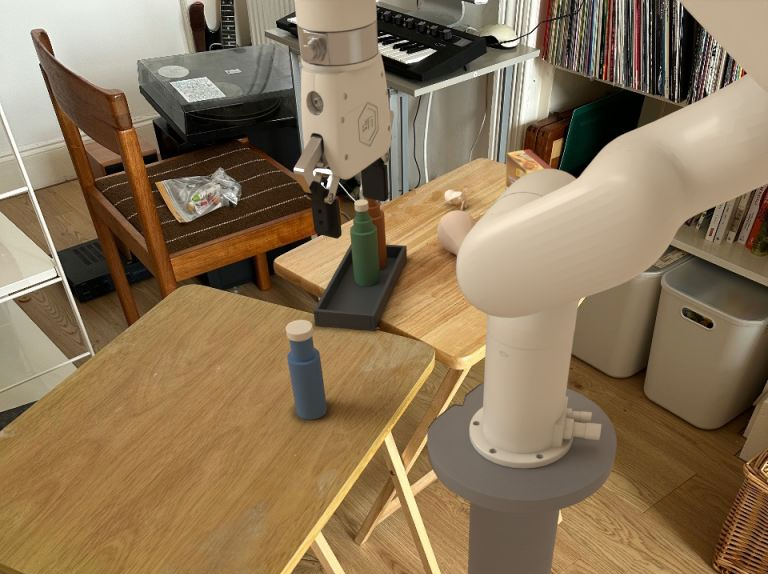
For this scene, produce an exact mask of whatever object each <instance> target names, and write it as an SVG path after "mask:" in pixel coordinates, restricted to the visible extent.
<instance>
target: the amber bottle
mask: <svg viewBox="0 0 768 574" xmlns="http://www.w3.org/2000/svg"><path fill="white" fill-rule="evenodd" d="M363 200H367V201H368V215H369V216H371V217H372V224H374V225H375V226H376V228H377V242H378V257H379V270H382V269H384V268H385V267H386V266H387V253H386V244H387V239H386V236H387V235H386V220H385V212H384V211H383V210H382V209H381V204H380V201H377V200H374V199H369V198H365V197H363Z"/></svg>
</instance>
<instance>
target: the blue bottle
mask: <svg viewBox="0 0 768 574" xmlns="http://www.w3.org/2000/svg"><path fill="white" fill-rule="evenodd" d="M285 334H286V338H287V339H288V340H289V341H288V342H289V346H290V348H289V349H290V351H289V352H288V353H287V354H286V355H287V356H286V359H287V366H288V371H289V377H290V383H291V388H292V389H291V390H292V393H293V401H294V406H295V411H296V412H295V413H296V415H297V416H298V417H299V418H301V419H303V420H307V421H313V420H318V419H320V418H322V417H323V416H325V415H326V413H327V412H328V405H327V397H326V391H325V383H324V375H323V369H322V360H321V353H320V351H319V350H318V349H317V348H316V347H315V345H314V338H313V336H314V325H313V324H312V322H311V321H309V320H306V319H295V320H293V321H291V322H289V323H287V324H286V326H285Z"/></svg>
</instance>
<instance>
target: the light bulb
mask: <svg viewBox="0 0 768 574" xmlns="http://www.w3.org/2000/svg"><path fill="white" fill-rule="evenodd" d="M476 223H477V222H476V221H475V218H473V216H472V215H471V214H470V213H468V212H467V211H464V210H460V209H457V210H451V211H449V212H447V213H446V214H444V215H443V216H442V217H441V218H440V220H439V222H438V225H437V228H436V237H437V240H438V242H439V244H440V245H441V247H442V248H443V249H445V250H446V251H447V252H449V253H452V254H454V255H455V256H456V257H457V256H458V252H459V249H460V247H461V244H462V242H463V240H464V239H465V237H466V236H467V234H468V233H469V231H470V230H471V229H472V228H473V227H474V225H475V224H476Z"/></svg>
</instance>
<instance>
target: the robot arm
mask: <svg viewBox="0 0 768 574" xmlns="http://www.w3.org/2000/svg"><path fill="white" fill-rule="evenodd" d="M293 1H294V8H295V9H294V10H295V11H294V12H295V19H296V28H297V36H298V45H299V54H300V64H301V66H302V67H301V74H300V75H301V76H300V109H301V110H300V112H301V127H302V129H301V130H302V137H303V138H302V139H303V148H304V149H303V151H302V153H301V155H300V157H299V158H298V160H297V162H296V164H295V165H294V167H293V175H294V178H295V179H296V180H297V182H298V185H299V188H300V191H301V192H302V193H303V194H304V195H306V196H305V197H306V199H307V200H310V205H311V215H312V223H313V230H314V233H315V234H316V235H320V236H324V237H328V238H332V239H335V240H338V239H340V238H341V237H342V234H343V232H342V221H341V211H340V210H341V209H340V202H339V200H337V199H335V197H336V194H337V190H338V187H339V183H340V179H341V180H346V181H347V180H350V179H352V178H353V177H355V176H357V174H359V173H360V179H361V192H362V197H363V198H364V197H365V198H369V199H374V200H376V201H377V202H384V203H385V202H387V201H388V200H389V199H390V195H389V194H390V193H389V175H388V173H389V172H388V163H389V161H390V157H391V155H390V152H389V149H390V148H391V147H392V140H393V136H392V129H393V123H394V118H395V113H394V111H393V110H391V109H390V102H389V100H390V99H389V91H388V84H387V83H388V82H387V77H386V71H385V66H384V61H383V57H382V53H381V50H380V49H379V39H378V38H379V37H378V16H377V0H293ZM678 1H679V3H680V4H681V5H682V6H683V7H684V8H685V10H686V11H687V12H688V13H689V14H690V15H691V16H692V17H693V18H694V19H695V21H697V22H698V23H699V24H700V26H701V27H703V29H704V30H705V31H706V32H707V33H708V34H709V35H710V36H711V38H713V39H714V40H715V41H716V43H717V44H718V45H720V47H721V48H722V49H723V50H724V51H725V52H726V53H727V54H728V55H729V56H730V57H731V58H732V60H734V61H735V62H736V64H738V65H739V67H741V69H743V71H744V72H746V74H744V75H743V76H741V77H739V78H737V79H736V80H735V81H733V82H731V83H729V84H727V85H725V86H724V87H722V88H720V89H718V90H716V91H714V92H712V93H711V94H708V95H707V96H705V97H703V98H701V99H700V100H697V101H695V102H693V103H691V104H689V105H686V106H684V107H682V108H680V109H677V110H676V111H673V112H671V113H669V114H667V115H665V116H662V117H661V118H658V119H656V120H654V121H652V122H650V123H647V124H644V125H643V126H640V127H638V128H635V129H633V130H630V131H628V132H626V133H624V134H621V135H619V136H617V137H616V138H614V139H613V140H612V141H610V142H608V143H607V144H606V145H605V146H604V147H603V148H602V149H601V150H600V151H599V152H598V153H597V155H596V156H594V158H593V159H592V160H591V162H590V163H589V164H588V165H587V167H586V168H585V169H584V170H583V171H582V172H581V174H580V175H579V177H577V178H576V176H574V175H572V174H571V173H569V172H567V171H564V170H561V169H556V168H553V169H540V170H536V171H533V172H530V173H528V174H526V175H524V176H523V177H521V178H519V179H518V180H516V181H515V182H514V183H513V184H512V185H510V186H509V187H508V188H507V189H506V190H505V189H504V190H503V192H502V193H501V195H500V196H499V197H498V198H497V199H496V200H495V201H494V202H493V203H492V204H491V206H490V207H489V208H488V209H487V211H485V213H484V214H483V215H482V216H481V217H480V218H479V219H478V221H476V222H475V223H476V224H475V225H474V227H473V228H472V229H471V230H470V231H469V233H468V234H467V236H466V237H465V239H464V240H463V242H462V244H461V247H460V249H459V252H458V256H456V261H455V275H456V279H457V284H458V287H459V290H460V291H461V293H462V295H463V296H464V298H465V299H466V300H467V302H468V303H469V304H470V305H471V306H472V307H474V308H475V309H477V310H478V311H480V312H482V313H484V314H486V325H485V326H486V327H485V328H486V329H485V349H484V350H485V352H484V375H483V377H484V378H483V381H484V382H483V383H484V397H483V407H482V408H481V409H480V410H478V411H477V412H476V414H475V415H474V416H473V418H472V420H471V422H470V427H469V437H470V441H471V443H472V445H473V447H474V448H475V449H476V451H477V452H478V453H479V454H480V455H482V456H483V457H485V458H486V459H488V460H490V461H492V462H494V463H496V464H499V465H502V466H506V467H511V468H523V469H526V468H536V467H541V466H545V465H548V464H551V463H553V462H555V461H557V460H559V459H560V458H562V457H563V456H564V455H565V454H566V453H567V452H568V450H569V449H570V447H571V445H572V442H573V437H580V438H584V439H591V440H599V439H600V433H601V424H595V423H591V417H592V412H584V411H581V412H578V411H572V408H567V403H568V397H567V396H566V389H567V388H568V380H569V375H570V374H569V373H570V367H571V358H572V352H573V345H574V335H575V331H576V323H577V316H578V309H579V303H580V300H582V299H584V298H587V297H590V296H593V295H596V294H598V293H602V292H605V291H608V290H610V289H613V288H615V287H618V286H621V285H623V284H625V283H627V282H629V281H631V280H633V279H635V278H637V277H638V276H640V275H641V274H642V273H644V272H646V271H647V270H649V269H650V268H651V267H652V266H653V265H655V264H656V262H658V261H659V259H660V258H661V257H662V256H663V255H664V253H665V252H666V251H667V250H668V248H669V246H670V245H671V243H672V242H673V239H674V238H675V236H676V234H677V233H678V231H679V230H680V228H681V227H682V226H683V224H684V223H686V222H687V221H689V220H690V219H691V218H693V217H695V216H697V215H699V214H701V213H704V212H705V211H708V210H710V209H713V208H715V207H717V206H719V205H722V204H725V203H727V202H729V201H733V200H734V199H736V198H739V197H741V196H743V195H745V194H748V193H750V192H752V191H754V190H756V189H759V188H761V187H763V186H766V185H768V0H678ZM328 167H329V168H328ZM322 177H323V178H328V180H327V184H326V187H325V186H324V185H322V184H321V181H322ZM574 421H575V422H574ZM578 422H580V423H578Z"/></svg>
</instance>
